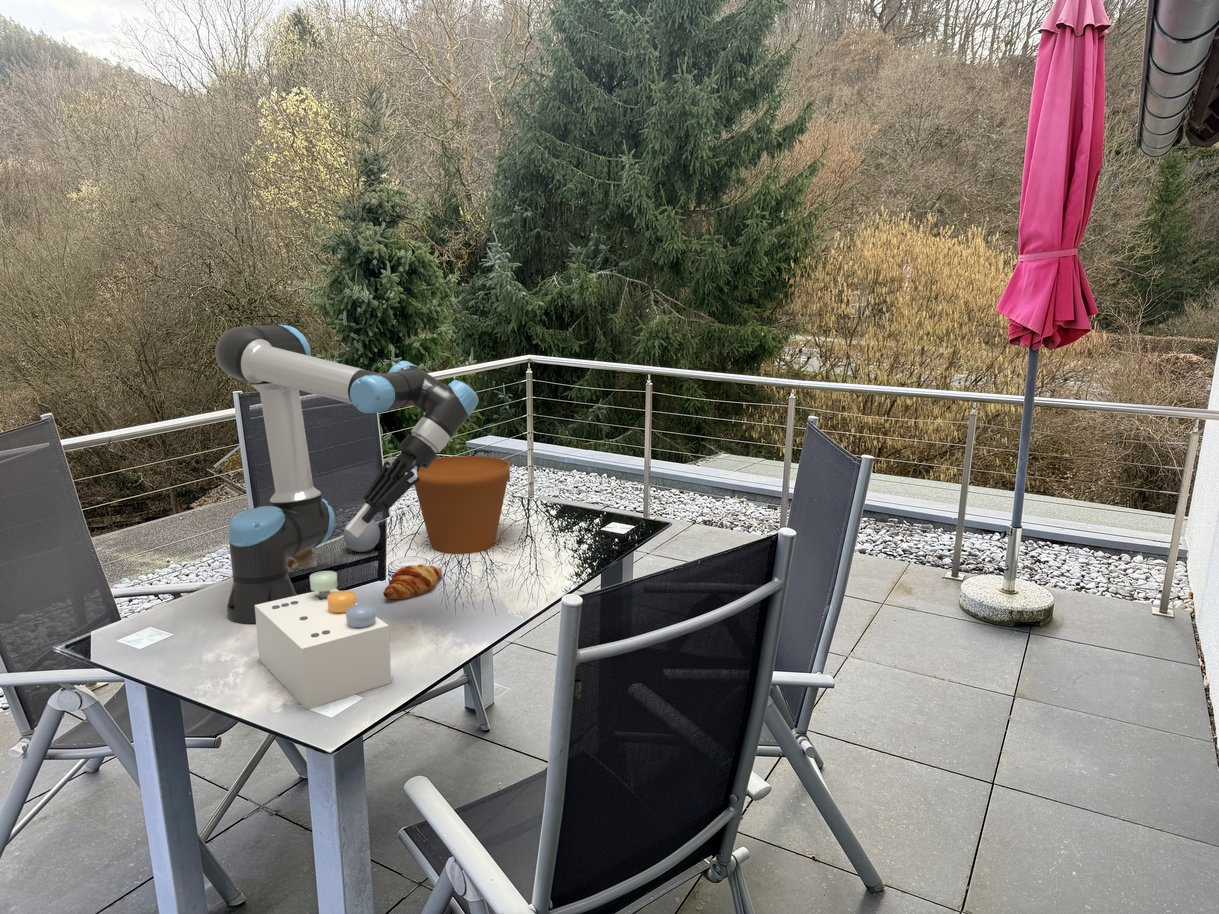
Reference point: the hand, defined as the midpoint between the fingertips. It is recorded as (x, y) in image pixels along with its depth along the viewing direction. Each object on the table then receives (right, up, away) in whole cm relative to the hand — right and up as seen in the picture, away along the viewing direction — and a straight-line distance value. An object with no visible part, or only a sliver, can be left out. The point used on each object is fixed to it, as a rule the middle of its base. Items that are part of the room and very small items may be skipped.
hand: (351, 532), depth 166 cm
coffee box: (-31, -14, +51) cm, 61 cm away
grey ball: (-17, -11, +65) cm, 69 cm away
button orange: (0, -17, -7) cm, 18 cm away
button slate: (+6, -18, -13) cm, 23 cm away
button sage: (-5, -14, 0) cm, 15 cm away
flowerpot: (+10, -10, +72) cm, 74 cm away
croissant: (+5, -18, +36) cm, 40 cm away
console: (-3, -26, -8) cm, 27 cm away
